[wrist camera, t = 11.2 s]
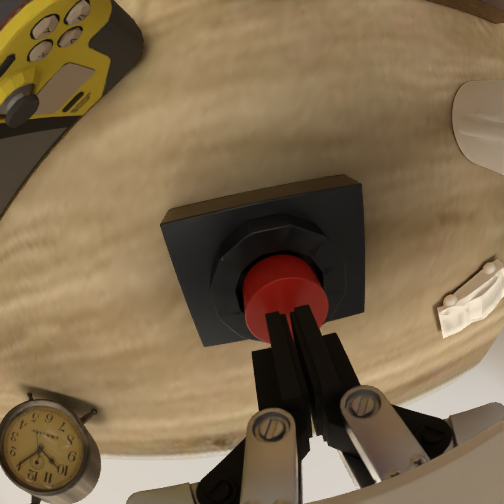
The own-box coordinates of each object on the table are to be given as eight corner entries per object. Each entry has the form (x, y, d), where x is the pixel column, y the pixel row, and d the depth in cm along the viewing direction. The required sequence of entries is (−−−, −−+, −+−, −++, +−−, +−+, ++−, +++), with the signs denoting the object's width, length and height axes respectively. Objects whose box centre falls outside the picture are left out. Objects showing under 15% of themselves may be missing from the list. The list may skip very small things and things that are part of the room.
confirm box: (344, 174, 16) (376, 191, 12) (351, 291, 19) (374, 328, 16) (168, 209, 16) (151, 237, 12) (205, 323, 19) (202, 366, 16)
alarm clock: (102, 402, 23) (69, 550, 8) (115, 429, 25) (93, 558, 10) (18, 380, 22) (-31, 496, 7) (36, 409, 24) (0, 516, 9)
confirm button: (312, 246, 13) (326, 269, 11) (318, 308, 15) (330, 335, 13) (235, 262, 13) (236, 288, 11) (250, 323, 15) (253, 352, 13)
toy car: (496, 286, 21) (510, 298, 19) (438, 334, 22) (450, 350, 20) (494, 251, 19) (510, 262, 17) (431, 303, 20) (446, 319, 18)
